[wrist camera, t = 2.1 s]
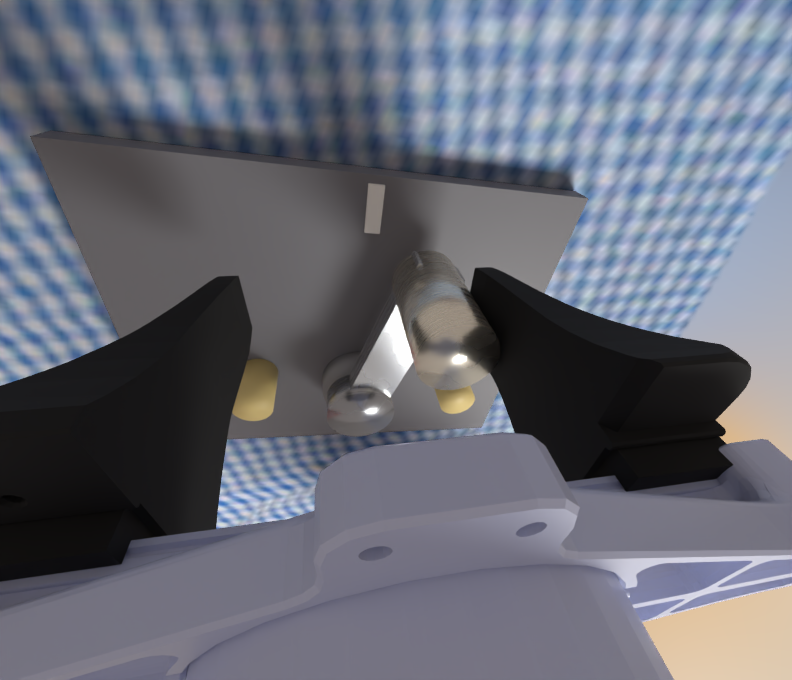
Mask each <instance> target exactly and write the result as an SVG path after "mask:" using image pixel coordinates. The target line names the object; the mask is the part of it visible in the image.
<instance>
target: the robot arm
mask: <svg viewBox="0 0 792 680" xmlns="http://www.w3.org/2000/svg"><path fill="white" fill-rule="evenodd" d="M470 293H471V295H472V296H473V298H474V300H475V301H476V303H477V305H478V306H479V308H480V310H481V311H482V313H483V314H484V316H485V318H486V319H487V321H488V323H489V324H490V326H491V328H492V329H493V331H494V333H495V334H496V336H497V338H498V339H499V342H500V346H501V353H500V357H499V360H498V362H497V364H496V365H495V367H494V368H493V369H492V370H491V372H490V374H491V376H492V378H493V380H494V382H495V383H496V385H497V387H498V390H499V392H500V394H501V396H502V399H503V401H504V404H505V407H506V409H507V412H508V415H509V417H510V420H511V423H512V426H513V429H514V432H515V433H504V432H501V433H492V434H483V435H474V436H464V437H455V438H446V439H437V440H428V441H418V442H409V443H400V444H391V445H382V446H373V447H369V448H366V449H362V450H358V451H354V452H351V453H347V454H345V455H343V456H342V457H340V458H339V459H338V460H336V461H335V462H333V463H332V464H331V465H329V466H328V467H326V468H325V469H324V470H323V471H321V472H320V475H319V478H318V482H317V485H316V488H315V511H312V512H309V513H306V514H303V515H300V516H296V517H293V518H290V519H287V520H279V521H272V522H264V523H257V524H249V525H242V526H235V527H227V528H220V529H216V522H217V511H218V502H219V494H220V485H221V477H222V470H223V463H224V456H225V448H226V442H227V436H228V430H229V424H230V419H231V415H232V411H233V407H234V404H235V400H236V397H237V394H238V390H239V387H240V384H241V380H242V377H243V374H244V370H245V367H246V363H247V360H248V356H249V352H250V345H251V337H252V324H251V320H250V317H249V313H248V309H247V305H246V302H245V298H244V294H243V290H242V287H241V283H240V279H239V276H218V277H216V278H214V279H213V280H211V281H209V282H208V283H207V284H205V285H204V286H202V287H201V288H199V289H198V290H197V291H195V292H194V293H193V294H191V295H190V296H188V297H187V298H185V299H184V300H183V301H181V302H180V303H178V304H177V305H176V306H174V307H173V308H171V309H169V310H168V311H166V312H165V313H163V314H162V315H160V316H159V317H157V318H155V319H154V320H152V321H151V322H149V323H148V324H146V325H144V326H143V327H141V328H139V329H137V330H135V331H134V332H132V333H130V334H128V335H126V336H124V337H122V338H120V339H118V340H116V341H114V342H112V343H110V344H108V345H106V346H104V347H102V348H99V349H97V350H95V351H92V352H90V353H88V354H86V355H83V356H81V357H79V358H76V359H74V360H72V361H69V362H67V363H64V364H62V365H59V366H56V367H54V368H51V369H49V370H46V371H43V372H40V373H37V374H35V375H32V376H29V377H26V378H23V379H20V380H17V381H14V382H11V383H8V384H5V385H2V386H0V680H674V679H673V677H672V675H671V674H670V672H669V670H668V668H667V666H666V665H665V663H664V661H663V659H662V658H661V656H660V654H659V652H658V650H657V648H656V647H655V645H654V643H653V641H652V639H651V638H650V636H649V634H648V632H647V630H646V629H645V627H644V625H643V623H642V622H645V621H649V620H653V619H657V618H660V617H664V616H668V615H672V614H675V613H679V612H683V611H687V610H691V609H694V608H698V607H702V606H706V605H710V604H714V603H718V602H722V601H725V600H730V599H733V598H738V597H742V596H747V595H751V594H755V593H759V592H763V591H768V590H773V589H778V588H782V587H787V586H791V585H792V461H791V460H790V459H789V458H788V457H787V456H786V455H784V454H783V453H782V452H781V451H780V450H779V449H777V448H776V447H775V446H774V445H773V444H772V443H771V442H769V441H768V440H764V439H760V440H751V441H743V442H735V443H730V444H726V443H725V442H724V441H723V440H722V439H721V438H720V436H723V435H724V434H725V432H726V431H725V429H724V428H723V427H722V426H721V425H720V424H719V423H718V422H717V421H716V419H717V418H718V417H719V416H720V415H721V414H722V413H723V412H724V411H725V410H726V409H727V407H728V406H730V404H731V403H732V402H733V401H734V400H735V399H736V398H737V397H738V396H739V395H740V394H741V392H742V391H743V390H744V389H745V388H746V386H747V384H748V382H749V380H750V377H751V366H750V365H749V363H748V362H747V361H746V360H745V359H743V358H742V357H740V356H739V355H737V354H736V353H735V352H734V351H732V350H731V349H729V348H728V347H726V346H723V345H721V344H715V343H708V342H703V341H697V340H691V339H685V338H679V337H674V336H669V335H664V334H660V333H655V332H651V331H646V330H643V329H639V328H635V327H631V326H627V325H624V324H621V323H617V322H614V321H611V320H607V319H604V318H601V317H598V316H596V315H593V314H590V313H588V312H585V311H582V310H580V309H577V308H575V307H572V306H570V305H568V304H565V303H563V302H561V301H559V300H557V299H555V298H552V297H550V296H548V295H546V294H544V293H542V292H540V291H538V290H536V289H535V288H533V287H531V286H529V285H527V284H525V283H523V282H521V281H520V280H518V279H516V278H514V277H512V276H510V275H508V274H506V273H504V272H502V271H500V270H498V269H495V268H493V267H482V268H475V270H474V275H473V280H472V284H471V289H470Z"/></svg>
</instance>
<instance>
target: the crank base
mask: <svg viewBox="0 0 792 680" xmlns="http://www.w3.org/2000/svg"><path fill="white" fill-rule="evenodd" d="M30 137H31V139H32V142H33V144H34V146H35V149H36V151H37V153H38V155H39V158H40V160H41V162H42V164H43V167H44V169H45V171H46V173H47V176H48V178H49V180H50V182H51V185H52V187H53V189H54V191H55V194H56V196H57V198H58V200H59V203H60V205H61V207H62V209H63V212H64V214H65V216H66V218H67V221H68V223H69V225H70V227H71V230H72V232H73V234H74V236H75V239H76V241H77V243H78V246H79V248H80V250H81V252H82V255H83V257H84V259H85V261H86V264H87V266H88V268H89V270H90V273H91V275H92V277H93V279H94V282H95V284H96V286H97V288H98V291H99V293H100V295H101V297H102V300H103V302H104V304H105V306H106V309H107V311H108V313H109V315H110V318H111V320H112V322H113V324H114V327H115V329H116V331H117V333H118V336H119V338H122V337H124V336H126V335H128V334H130V333H132V332H134V331H135V330H137V329H139V328H141V327H143V326H144V325H146V324H148V323H149V322H151V321H152V320H154V319H155V318H157V317H159V316H160V315H162V314H163V313H165V312H166V311H168V310H169V309H171V308H173V307H174V306H176V305H177V304H178V303H180V302H181V301H183V300H184V299H185V298H187V297H188V296H190V295H191V294H193V293H194V292H195V291H197V290H198V289H199V288H201V287H202V286H204V285H205V284H207V283H208V282H209V281H211V280H213V279H214V278H216V277H218V276H239V279H240V283H241V287H242V290H243V294H244V298H245V302H246V305H247V309H248V313H249V317H250V320H251V324H252V337H251V345H250V352H249V356H248V360H247V363H246V367H245V370H244V374H243V377H242V380H241V384H240V387H239V390H238V394H237V397H236V400H235V404H234V407H233V411H232V415H231V419H230V424H229V430H228V436H227V439H244V438H266V437H288V436H309V435H331V434H340V433H338V432H336V431H334V430H333V429H332V428H331V427H330V426H329V424H328V422H327V392H328V389H329V388H330V386H331V385H332V384H333V383H334V382H335V381H337V380H338V379H340V378H341V377H344V376H346V375H349V374H350V372H351V370H352V368H353V366H354V364H355V362H356V360H357V358H358V356H359V354H360V353H361V351H362V349H363V347H364V345H365V343H366V341H367V339H368V337H369V335H370V333H371V331H372V329H373V327H374V326H375V324H376V322H377V320H378V318H379V316H380V314H381V312H382V310H383V308H384V306H385V304H386V302H387V300H388V299H389V297H390V295H391V293H392V291H393V289H392V277H393V274H394V271H395V269H396V268H397V266H398V265H399V264H400V263H401V262H402V261H403V260H404V259H405V258H406V257H408V256H410V255H411V254H412V252H413V251H416V252H420V251H427V250H429V251H436V252H439V253H442V254H444V255H445V256H447V257H448V258H449V259H450V261H451V262H452V263H453V265H454V267H457V268H458V270H459V271H460V273H461V274H462V276H463V278H464V279H465V281H464V283H465V285H466V286H467V288H468V290H469V291H470V289H471V284H472V280H473V275H474V270H475V268H482V267H493V268H495V269H498V270H500V271H502V272H504V273H506V274H508V275H510V276H512V277H514V278H516V279H518V280H520V281H521V282H523V283H525V284H527V285H529V286H531V287H533V288H535V289H536V290H538V291H540V292H542V293H544V292H545V290H546V288H547V286H548V284H549V282H550V280H551V277H552V275H553V273H554V271H555V269H556V267H557V265H558V262H559V260H560V258H561V256H562V254H563V252H564V250H565V247H566V245H567V243H568V241H569V239H570V237H571V235H572V232H573V230H574V228H575V226H576V224H577V222H578V220H579V217H580V215H581V213H582V211H583V209H584V207H585V205H586V202H587V200H588V198H586V197H585V196H583V195H581V194H579V193H577V192H576V191H570V190H561V189H552V188H544V187H535V186H526V185H518V184H509V183H500V182H492V181H483V180H474V179H466V178H457V177H448V176H440V175H431V174H422V173H414V172H405V171H396V170H388V169H379V168H370V167H362V166H353V165H344V164H336V163H327V162H319V161H310V160H301V159H293V158H284V157H275V156H267V155H258V154H249V153H241V152H232V151H223V150H215V149H206V148H197V147H189V146H180V145H171V144H163V143H154V142H145V141H137V140H128V139H119V138H111V137H102V136H93V135H85V134H76V133H67V132H59V131H47V132H44V133H40V134H37V135H33V136H30ZM498 391H499V390H498V387H497V385H496V383H495V382H494V380H493V378H492V376H491V374H490V373H489V374H487V375H486V376H485V377H484V378H482V379H481V380H479V381H478V382H476V383H474V384H472V385H470V386H467V387H464V388H460V389H455V390H440V389H435V388H432V387H430V386H428V385H426V384H425V383H423V382H422V381H421V380H420V378H419V377H418V375H417V372H416V369H415V366H414V362H413V363H412V364H411V366H410V367H409V369H408V370H407V372H406V374H405V375H404V377H403V378H402V380H401V381H400V383H399V385H398V386H397V388H396V389H395V391H394V392H393V394H392V395H391V397H392V402H393V407H394V416H393V419H392V421H391V422H390V423H389V424H388V425H387V426H386V427H385V428H384V429H382V430H380V431H378V432H396V431H417V430H439V429H461V428H481V427H482V425H483V423H484V421H485V419H486V417H487V414H488V412H489V410H490V408H491V406H492V404H493V402H494V399H495V397H496V395H497V393H498Z"/></svg>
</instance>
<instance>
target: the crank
mask: <svg viewBox="0 0 792 680" xmlns="http://www.w3.org/2000/svg"><path fill="white" fill-rule="evenodd" d="M464 281H465V279H464V278H463V276H462V274H461V273H460V271H459V270H458V268H457V267H454V265H453V263H452V262H451V261H450V259H449V258H448V257H447V256H445V255H444V254H442V253H439V252H436V251H429V250H427V251H420V252H416V251H413V252H412V254H411V255H410V256H408V257H406V258H405V259H404V260H403V261H402V262H401V263H400V264H399V265H398V266H397V268H396V269H395V271H394V274H393V277H392V289H393V291H392V293H391V295H390V297H389V299H388V300H387V302H386V304H385V306H384V308H383V310H382V312H381V314H380V316H379V318H378V320H377V322H376V324H375V326H374V327H373V329H372V331H371V333H370V335H369V337H368V339H367V341H366V343H365V345H364V347H363V349H362V351H361V353H360V354H359V356H358V358H357V360H356V362H355V364H354V366H353V368H352V370H351V372H350V374H349V375H346V376H344V377H341V378H340V379H338V380H337V381H335V382H334V383H333V384H332V385H331V386H330V388H329V389H328V392H327V422H328V424H329V426H330V427H331V428H332V429H333V430H334V431H336V432H338V433H340V434H343V435H346V436H366V435H370V434H374V433H376V432H378V431H380V430H382V429H384V428H385V427H386V426H387V425H388V424H389V423H390V422H391V421H392V419H393V416H394V407H393V402H392V397H391V395H392V394H393V392H394V391H395V389H396V388H397V386H398V385H399V383H400V381H401V380H402V378H403V377H404V375H405V374H406V372H407V370H408V369H409V367H410V366H411V364H412V363H413V362H414V366H415V369H416V372H417V375H418V377H419V378H420V380H421V381H422V382H423V383H425V384H426V385H428V386H430V387H432V388H435V389H440V390H455V389H460V388H464V387H467V386H470V385H472V384H474V383H476V382H478V381H479V380H481V379H482V378H484V377H485V376H486V375H487V374H489V373H490V372H491V370H492V369H493V368H494V367H495V365H496V364H497V362H498V360H499V357H500V353H501V346H500V342H499V339H498V338H497V336H496V334H495V333H494V331H493V329H492V328H491V326H490V324H489V323H488V321H487V319H486V318H485V316H484V314H483V313H482V311H481V310H480V308H479V306H478V305H477V303H476V301H475V300H474V298H473V296H472V295H471V293H470V291H469V290H468V288H467V286H466V285H465V283H464Z"/></svg>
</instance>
